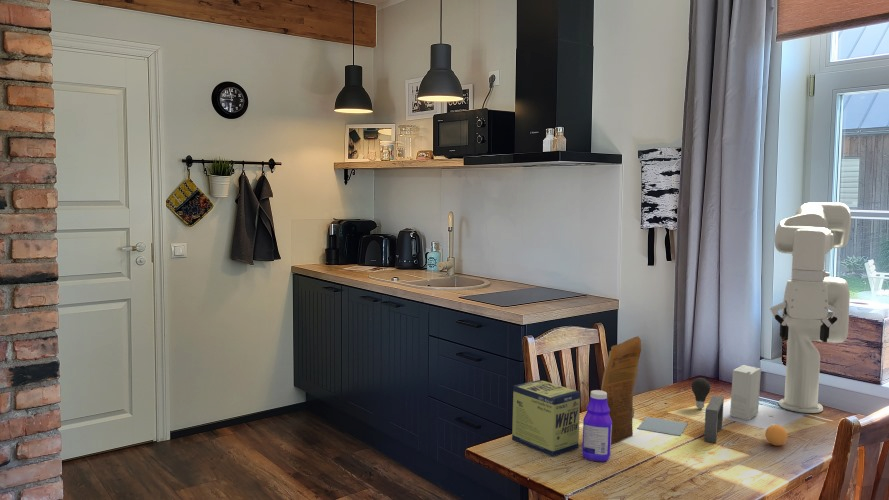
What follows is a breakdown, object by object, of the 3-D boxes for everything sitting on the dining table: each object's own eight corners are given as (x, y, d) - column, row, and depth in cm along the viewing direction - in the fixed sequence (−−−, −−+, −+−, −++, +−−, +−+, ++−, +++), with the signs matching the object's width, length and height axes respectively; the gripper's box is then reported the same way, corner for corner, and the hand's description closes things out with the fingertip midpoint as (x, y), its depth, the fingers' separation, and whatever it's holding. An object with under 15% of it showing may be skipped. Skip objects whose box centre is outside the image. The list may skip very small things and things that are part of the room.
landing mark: (646, 417, 214) (646, 416, 214) (687, 423, 208) (687, 423, 208) (637, 428, 203) (637, 428, 203) (680, 436, 197) (680, 435, 197)
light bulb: (710, 412, 219) (712, 380, 218) (691, 411, 220) (693, 379, 219) (707, 406, 225) (709, 376, 224) (689, 405, 226) (690, 375, 225)
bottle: (611, 456, 182) (614, 390, 180) (609, 464, 176) (611, 396, 175) (583, 452, 184) (585, 387, 183) (580, 460, 179) (582, 393, 177)
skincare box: (739, 410, 221) (741, 364, 220) (759, 414, 217) (761, 367, 216) (729, 416, 215) (731, 369, 214) (749, 421, 211) (751, 372, 210)
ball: (765, 440, 195) (766, 420, 195) (787, 443, 192) (788, 424, 192) (763, 446, 190) (764, 426, 190) (786, 450, 188) (787, 429, 187)
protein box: (553, 457, 181) (554, 398, 179) (511, 440, 193) (512, 384, 191) (580, 448, 187) (581, 391, 186) (537, 432, 199) (538, 378, 198)
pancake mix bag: (646, 434, 199) (650, 336, 196) (607, 450, 186) (611, 346, 183) (625, 428, 204) (629, 332, 201) (586, 443, 191) (589, 342, 188)
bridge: (704, 441, 193) (705, 409, 192) (711, 426, 206) (712, 395, 205) (715, 443, 192) (717, 410, 191) (722, 428, 205) (723, 397, 204)
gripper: (836, 275, 186) (833, 338, 188) (768, 273, 189) (764, 336, 190) (848, 278, 179) (844, 344, 180) (777, 277, 181) (773, 342, 183)
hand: (803, 340), depth 185 cm, fingers open, 9 cm apart
